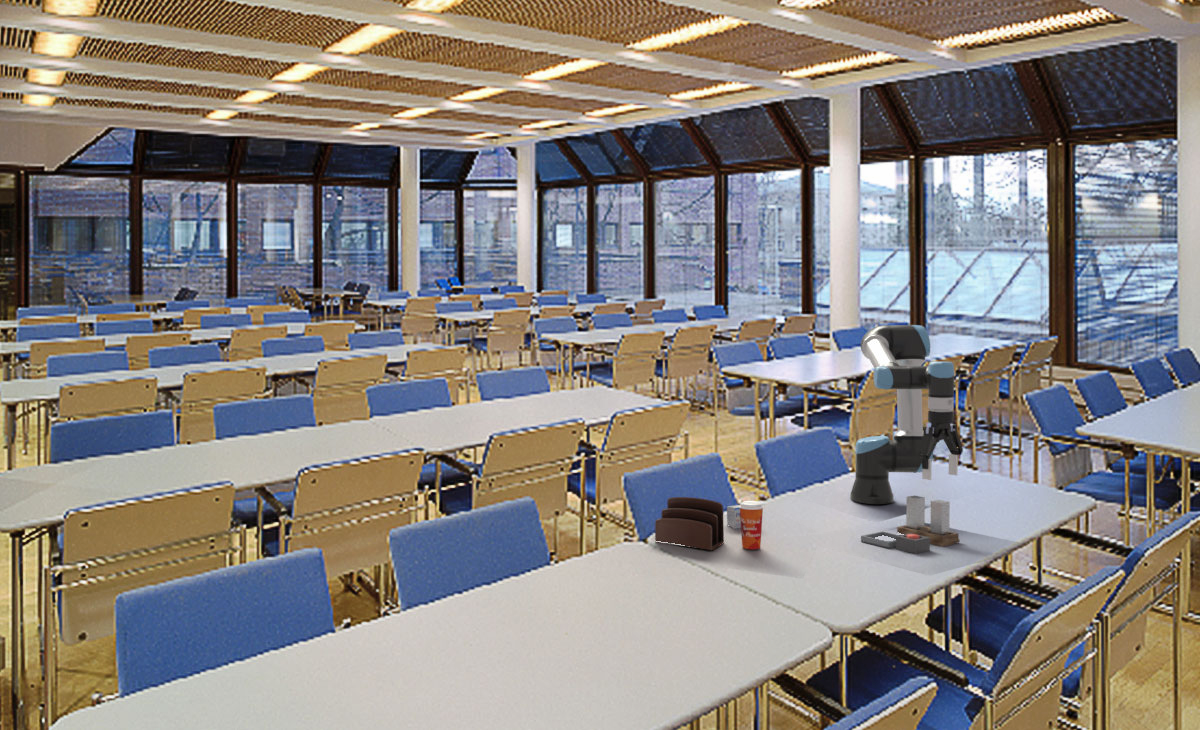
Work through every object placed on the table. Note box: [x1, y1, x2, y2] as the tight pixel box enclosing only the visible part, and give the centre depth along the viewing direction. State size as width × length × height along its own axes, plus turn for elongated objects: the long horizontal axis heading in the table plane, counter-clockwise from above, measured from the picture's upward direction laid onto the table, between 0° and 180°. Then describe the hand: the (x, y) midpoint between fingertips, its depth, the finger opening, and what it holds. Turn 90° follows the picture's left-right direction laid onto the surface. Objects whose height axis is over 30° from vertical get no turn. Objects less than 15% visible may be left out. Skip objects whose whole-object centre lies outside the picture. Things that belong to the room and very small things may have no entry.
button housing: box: [895, 533, 931, 555], centre depth 264 cm, size 7×7×4 cm
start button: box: [907, 534, 919, 539], centre depth 264 cm, size 4×4×2 cm
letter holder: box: [654, 496, 725, 551], centre depth 275 cm, size 10×20×14 cm, turn 59°
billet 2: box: [930, 499, 951, 536], centre depth 273 cm, size 4×4×12 cm
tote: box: [860, 530, 899, 549], centre depth 273 cm, size 11×11×2 cm
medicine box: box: [726, 504, 741, 529], centre depth 290 cm, size 8×4×9 cm, turn 118°
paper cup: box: [738, 500, 765, 550], centre depth 269 cm, size 8×8×14 cm
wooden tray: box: [896, 524, 961, 548], centre depth 277 cm, size 17×9×3 cm, turn 34°
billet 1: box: [905, 495, 926, 530], centre depth 281 cm, size 4×4×12 cm
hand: (940, 477), depth 273 cm, fingers open, 13 cm apart
